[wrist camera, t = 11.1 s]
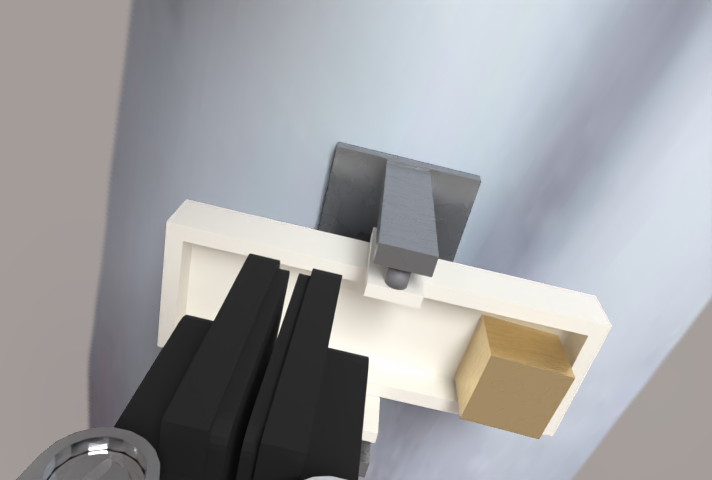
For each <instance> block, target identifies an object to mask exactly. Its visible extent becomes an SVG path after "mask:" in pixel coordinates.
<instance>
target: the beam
mask: <svg viewBox="0 0 712 480" xmlns="http://www.w3.org/2000/svg"><path fill="white" fill-rule="evenodd" d="M376 233H377V228H376V227H373V231H372V235H371V239H370V242H365V241H361V240H357V239H353V238H348V237H344V236H340V235H336V234H332V233H327V232H323V231H319V230H315V229H310V228H306V227H302V226H298V225H293V224H289V223H285V222H281V221H277V220H272V219H268V218H264V217H260V216H255V215H251V214H247V213H243V212H238V211H234V210H230V209H226V208H222V207H217V206H213V205H209V204H205V203H200V202H196V201H192V200H188V199H186V200H185V201H184V202H183V204H182V205H181V206H180V207H179V208H178V209H177V210H176V211H175V213H174V214H173V215H172V216H171V217H170V218H169V219H168V220H167V223H166V237H165V250H164V264H163V277H162V290H161V304H160V317H159V331H158V344H157V346H158V347H164V345H165V344H166V342H167V341H168V339H169V337H170V336H171V334H172V333H173V331H174V329H175V328H176V326H177V324H178V323H179V321H180V320H181V319H182V317H183V316H185V315H191V316H195V317H199V318H203V319H208V320H212V321H214V319H215V317H216V316H217V314H218V312H219V310H220V308H221V306H222V304H223V302H224V300H225V298H226V297H227V295H228V293H229V291H230V289H231V287H232V285H233V283H234V281H235V279H236V277H237V276H238V274H239V272H240V270H241V268H242V266H243V264H244V262H245V260H246V258H247V257H248V255H249V254H250V253H251V254H255V255H260V256H264V257H268V258H272V259H276V260H280V269H284V270H288V271H290V275H289V281H288V286H287V291H286V296H285V301H284V306H283V311H282V316H281V321H280V326H279V331H280V328H281V325H282V322H283V319H284V317H285V314H286V311H287V308H288V305H289V302H290V299H291V296H292V293H293V290H294V287H295V284H296V281H297V278H298V275H299V273H301V274H305V275H309V276H311V273H312V270H313V268H315V269H319V270H323V271H327V272H331V273H336V274H340V275H342V281H341V286H340V291H339V295H338V300H337V305H336V310H335V315H334V320H333V325H332V330H331V335H330V340H329V345H328V348H333V349H337V350H341V351H346V352H350V353H354V354H359V355H363V356H367V357H369V369H368V379H367V390H366V401H365V411H364V422H363V433H362V440H364V441H369V442H373V443H375V441H376V438H377V435H378V422H379V405H380V397H383V398H387V399H392V400H396V401H400V402H405V403H409V404H414V405H418V406H422V407H427V408H431V409H436V410H440V411H444V412H449V413H453V414H458V415H460V412H459V404H458V395H457V387H456V379H455V373H456V371H457V369H458V367H459V364H460V362H461V360H462V358H463V356H464V354H465V351H466V349H467V347H468V345H469V343H470V340H471V338H472V336H473V334H474V332H475V330H476V327H477V325H478V323H479V321H480V319H481V317H482V315H486V316H490V317H493V318H497V319H501V320H504V321H508V322H512V323H515V324H519V325H523V326H526V327H530V328H533V329H537V330H541V331H544V332H548V333H552V334H555V335H558V336H559V338H560V341H561V343H562V346H563V348H564V351H565V353H566V356H567V358H568V361H569V363H570V366H571V368H572V371H573V373H574V376H575V380H574V381H573V383H572V385H571V386H570V388H569V390H568V391H567V393H566V395H565V396H564V398H563V400H562V402H561V403H560V405H559V407H558V408H557V410H556V412H555V413H554V415H553V417H552V418H551V420H550V422H549V423H548V425H547V427H546V428H545V430H544V432H543V434H546V435H550V436H553V435H554V433H555V431H556V429H557V428H558V426H559V424H560V422H561V420H562V418H563V416H564V415H565V413H566V411H567V409H568V407H569V405H570V403H571V402H572V400H573V398H574V396H575V394H576V392H577V390H578V389H579V387H580V385H581V383H582V381H583V379H584V377H585V376H586V374H587V372H588V370H589V368H590V366H591V365H592V363H593V361H594V359H595V357H596V355H597V353H598V352H599V350H600V348H601V346H602V344H603V342H604V340H605V339H606V337H607V335H608V333H609V331H610V329H611V327H612V325H611V323H610V321H609V319H608V317H607V316H606V314H605V312H604V310H603V308H602V307H601V305H600V303H599V301H598V299H597V298H596V296H594V295H590V294H586V293H581V292H577V291H573V290H569V289H564V288H560V287H556V286H552V285H547V284H543V283H539V282H535V281H530V280H526V279H522V278H518V277H514V276H509V275H505V274H501V273H497V272H492V271H488V270H484V269H480V268H475V267H471V266H467V265H463V264H459V263H454V262H450V261H446V260H442V259H438V261H437V264H436V267H435V270H434V273H433V276H432V277H428V276H423V275H419V274H415V273H411V272H407V271H402V270H398V269H394V268H390V267H385V266H381V265H377V264H373V260H374V251H375V242H376ZM279 331H278V334H279ZM277 337H278V336H277Z"/></svg>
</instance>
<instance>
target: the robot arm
mask: <svg viewBox="0 0 712 480" xmlns="http://www.w3.org/2000/svg"><path fill="white" fill-rule="evenodd" d="M289 275H290V271H288V270H284V269H280V260H276V259H272V258H268V257H264V256H260V255H255V254H251V253H250V254H249V255H248V257H247V258H246V260H245V262H244V264H243V266H242V268H241V270H240V272H239V274H238V276H237V277H236V279H235V281H234V283H233V285H232V287H231V289H230V291H229V293H228V295H227V297H226V298H225V300H224V302H223V304H222V306H221V308H220V310H219V312H218V314H217V316H216V317H215V319H214V321H212V320H208V319H203V318H199V317H195V316H191V315H185V316H183V317H182V319H181V320H180V321H179V323H178V324H177V326H176V328H175V329H174V331H173V333H172V334H171V336H170V337H169V339H168V341H167V342H166V344H165V345H164V347H163V349H162V350H161V352H160V354H159V355H158V357H157V358H156V360H155V362H154V363H153V365H152V366H151V368H150V370H149V371H148V373H147V375H146V376H145V378H144V379H143V381H142V383H141V384H140V386H139V388H138V389H137V391H136V392H135V394H134V396H133V397H132V399H131V400H130V402H129V404H128V405H127V407H126V409H125V410H124V412H123V413H122V415H121V417H120V418H119V420H118V421H117V423H116V425H115V426H114V427H104V428H91V429H87V430H84V431H79V432H75V433H73V434H71V435H69V436H67V437H65V438H63V439H60V440H58V441H56V442H55V443H54V444H53V445H51V446H50V447H49V448H48V449H47V450H45V451H44V452H43V453H41V454H40V455H39V456H38V457H37V458H36V460H34V462H33V463H32V464H31V465H30V466H29V467H28V468H27V469H26V470H25V471H24V472H23V473H22V474H21V475H20V476H19V477H18V478H17V479H16V480H358V475H359V465H360V454H361V443H362V433H363V422H364V411H365V401H366V390H367V379H368V369H369V357H367V356H363V355H359V354H354V353H350V352H346V351H341V350H337V349H333V348H328V345H329V340H330V335H331V330H332V325H333V320H334V315H335V310H336V305H337V300H338V295H339V291H340V286H341V281H342V275H340V274H336V273H331V272H327V271H323V270H319V269H315V268H313V270H312V273H311V276H309V275H305V274H301V273H299V275H298V278H297V281H296V284H295V287H294V290H293V293H292V296H291V299H290V302H289V305H288V308H287V311H286V314H285V317H284V319H283V322H282V325H281V328H280V331H279V326H280V321H281V316H282V311H283V306H284V301H285V296H286V291H287V286H288V281H289ZM278 331H279V334H278ZM277 336H278V337H277Z"/></svg>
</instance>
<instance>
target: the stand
mask: <svg viewBox="0 0 712 480" xmlns="http://www.w3.org/2000/svg"><path fill="white" fill-rule="evenodd" d="M480 183H481V179H480V176H478V175H473V174H469V173H465V172H461V171H457V170H453V169H449V168H445V167H441V166H436V165H432V164H428V163H424V162H420V161H416V160H412V159H408V158H404V157H399V156H395V155H391V154H387V153H383V152H379V151H375V150H371V149H367V148H362V147H358V146H354V145H350V144H346V143H342V142H338V144H337V148H336V152H335V157H334V162H333V166H332V171H331V175H330V180H329V185H328V189H327V194H326V198H325V203H324V208H323V212H322V217H321V221H320V226H319V231H323V232H327V233H332V234H336V235H340V236H344V237H348V238H353V239H357V240H361V241H365V242H370V239H371V235H372V231H373V227H376V228H377V233H376V242H375V251H374V260H373V264H377V265H381V266H385V267H390V268H394V269H398V270H402V271H407V272H411V273H415V274H419V275H423V276H428V277H432V276H433V273H434V270H435V267H436V264H437V261H438V259H442V260H446V261H450V262H453V260H454V257H455V254H456V251H457V248H458V246H459V243H460V240H461V237H462V234H463V231H464V229H465V226H466V223H467V220H468V217H469V214H470V212H471V209H472V206H473V203H474V200H475V197H476V195H477V192H478V189H479V186H480ZM370 443H371V442H369V441H364V440H362V443H361V454H360V465H359V475H358V476H360V477H365V474H366V471H367V468H368V465H369V456H370Z"/></svg>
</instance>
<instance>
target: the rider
mask: <svg viewBox="0 0 712 480" xmlns="http://www.w3.org/2000/svg"><path fill="white" fill-rule="evenodd" d="M455 379H456V387H457V395H458V404H459V412H460V419H464V420H468V421H472V422H475V423H479V424H483V425H487V426H491V427H494V428H498V429H502V430H506V431H510V432H513V433H517V434H521V435H525V436H529V437H532V438H536V439H540V437H541V435H542V434H543V432H544V430H545V428H546V427H547V425H548V423H549V422H550V420H551V418H552V417H553V415H554V413H555V412H556V410H557V408H558V407H559V405H560V403H561V402H562V400H563V398H564V396H565V395H566V393H567V391H568V390H569V388H570V386H571V385H572V383H573V381H574V380H575V376H574V373H573V371H572V368H571V366H570V363H569V361H568V358H567V356H566V353H565V351H564V348H563V346H562V343H561V341H560V338H559V336H558V335H555V334H552V333H548V332H544V331H541V330H537V329H533V328H530V327H526V326H523V325H519V324H515V323H512V322H508V321H504V320H501V319H497V318H493V317H490V316H486V315H482V317H481V319H480V321H479V323H478V325H477V327H476V330H475V332H474V334H473V336H472V338H471V340H470V343H469V345H468V347H467V349H466V351H465V354H464V356H463V358H462V360H461V362H460V364H459V367H458V369H457V371H456V373H455Z"/></svg>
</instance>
